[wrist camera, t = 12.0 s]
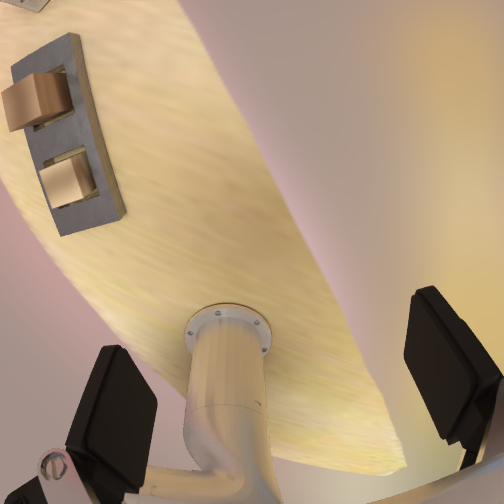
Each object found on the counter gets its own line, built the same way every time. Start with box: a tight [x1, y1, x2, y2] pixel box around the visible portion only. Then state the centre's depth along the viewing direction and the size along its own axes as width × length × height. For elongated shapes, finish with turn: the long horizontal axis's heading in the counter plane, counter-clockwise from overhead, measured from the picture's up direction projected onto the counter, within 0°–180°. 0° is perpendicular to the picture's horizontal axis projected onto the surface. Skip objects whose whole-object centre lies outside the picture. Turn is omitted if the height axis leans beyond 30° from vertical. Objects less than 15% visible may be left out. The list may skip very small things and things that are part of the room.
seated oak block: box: [39, 151, 97, 209], centre depth 32 cm, size 5×5×5 cm
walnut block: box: [1, 73, 74, 132], centre depth 26 cm, size 5×5×8 cm
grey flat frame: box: [11, 32, 126, 237], centre depth 31 cm, size 23×9×2 cm, turn 11°
